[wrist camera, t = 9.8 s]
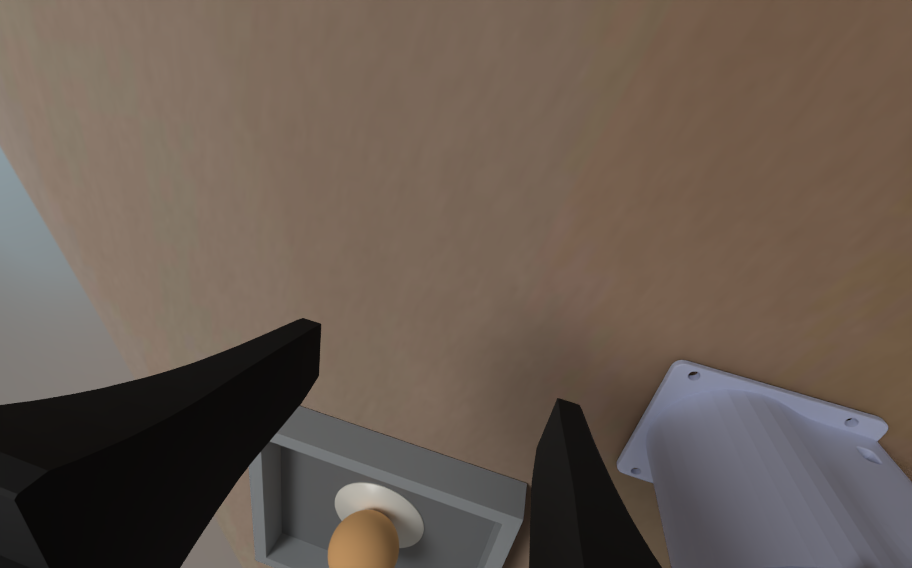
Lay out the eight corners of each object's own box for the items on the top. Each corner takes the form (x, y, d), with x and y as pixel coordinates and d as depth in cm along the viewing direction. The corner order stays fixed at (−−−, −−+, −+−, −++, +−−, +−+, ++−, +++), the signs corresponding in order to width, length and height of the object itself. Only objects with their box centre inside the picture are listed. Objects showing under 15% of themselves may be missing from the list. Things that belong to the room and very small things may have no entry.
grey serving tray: (526, 483, 26) (523, 519, 24) (473, 607, 34) (467, 643, 32) (270, 395, 28) (245, 422, 26) (274, 531, 36) (255, 560, 34)
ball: (405, 501, 29) (378, 573, 25) (411, 544, 31) (387, 616, 27) (343, 488, 30) (307, 555, 26) (353, 530, 32) (321, 598, 28)
